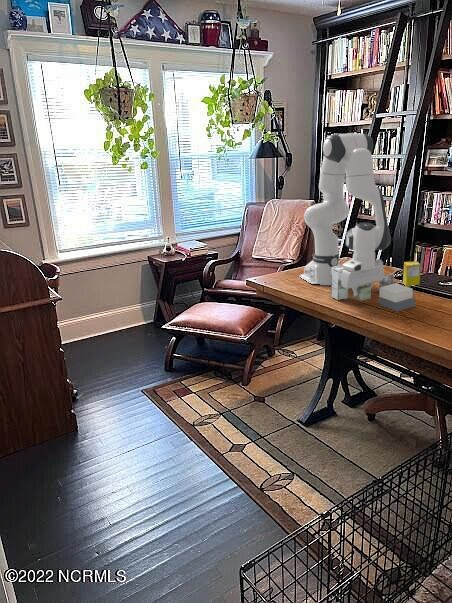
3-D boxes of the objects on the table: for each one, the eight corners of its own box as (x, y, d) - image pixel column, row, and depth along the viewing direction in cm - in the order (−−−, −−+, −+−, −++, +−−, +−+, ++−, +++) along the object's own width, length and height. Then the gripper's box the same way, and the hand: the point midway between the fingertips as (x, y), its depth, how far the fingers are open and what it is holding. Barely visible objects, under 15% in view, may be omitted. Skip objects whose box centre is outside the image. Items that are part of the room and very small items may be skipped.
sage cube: (353, 297, 194) (353, 286, 192) (362, 294, 196) (363, 283, 194) (361, 300, 190) (361, 289, 188) (370, 298, 192) (371, 287, 190)
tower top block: (379, 296, 189) (379, 287, 188) (395, 292, 193) (395, 283, 191) (395, 302, 182) (396, 293, 180) (412, 297, 185) (412, 288, 184)
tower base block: (378, 305, 191) (379, 296, 189) (396, 300, 195) (396, 291, 193) (396, 312, 182) (397, 303, 181) (414, 307, 186) (415, 297, 185)
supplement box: (415, 283, 212) (417, 261, 209) (419, 287, 207) (421, 264, 203) (402, 284, 213) (403, 261, 209) (405, 288, 207) (407, 265, 204)
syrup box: (341, 295, 205) (342, 264, 200) (349, 299, 199) (349, 267, 194) (330, 297, 203) (330, 266, 198) (337, 301, 198) (338, 269, 193)
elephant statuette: (382, 297, 200) (383, 280, 197) (368, 287, 211) (369, 272, 208) (401, 294, 201) (402, 278, 198) (386, 285, 212) (388, 269, 209)
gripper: (377, 257, 194) (375, 287, 199) (339, 265, 186) (338, 296, 191) (388, 260, 189) (386, 291, 194) (349, 268, 181) (348, 301, 186)
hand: (362, 294), depth 192 cm, fingers closed on sage cube, 5 cm apart
